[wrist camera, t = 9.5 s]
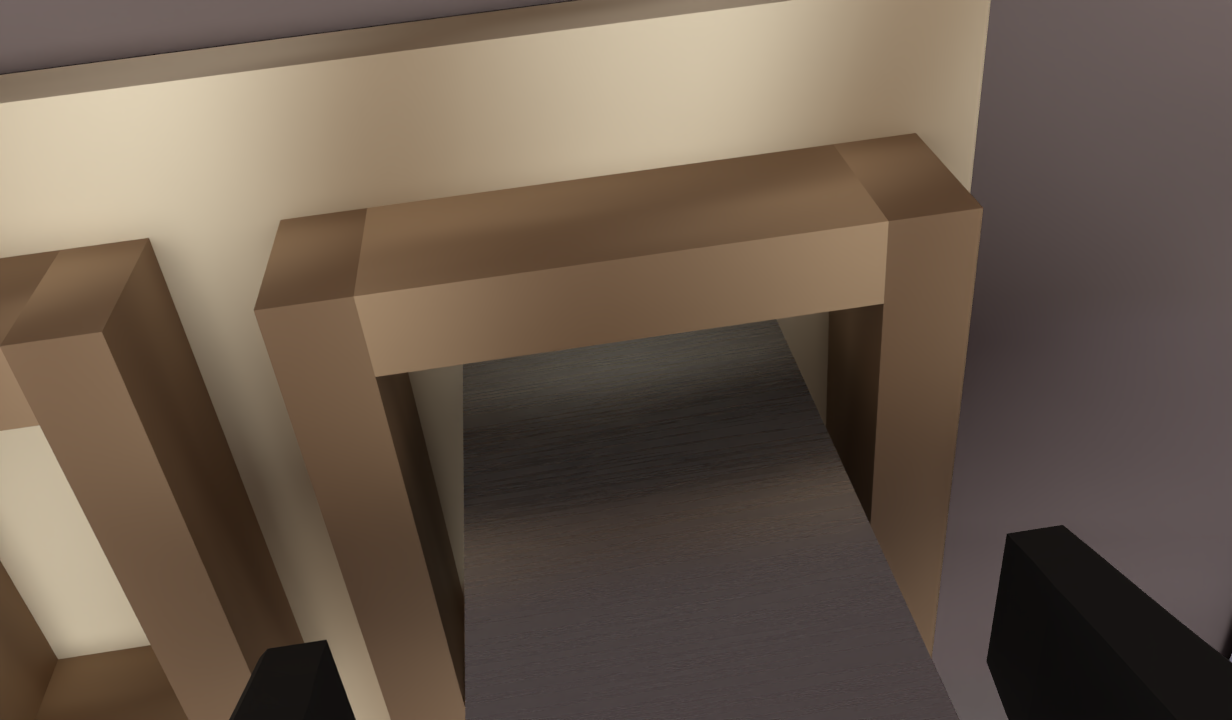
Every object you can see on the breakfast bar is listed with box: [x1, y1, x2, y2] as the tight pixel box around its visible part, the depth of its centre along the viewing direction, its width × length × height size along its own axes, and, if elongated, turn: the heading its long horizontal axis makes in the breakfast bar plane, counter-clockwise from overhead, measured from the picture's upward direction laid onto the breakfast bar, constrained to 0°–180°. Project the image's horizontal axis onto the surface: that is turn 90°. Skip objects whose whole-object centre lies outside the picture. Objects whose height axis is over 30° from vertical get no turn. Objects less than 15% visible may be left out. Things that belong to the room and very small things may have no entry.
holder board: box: [0, 0, 991, 720], centre depth 14 cm, size 15×11×3 cm
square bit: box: [463, 319, 959, 720], centre depth 11 cm, size 4×4×9 cm
